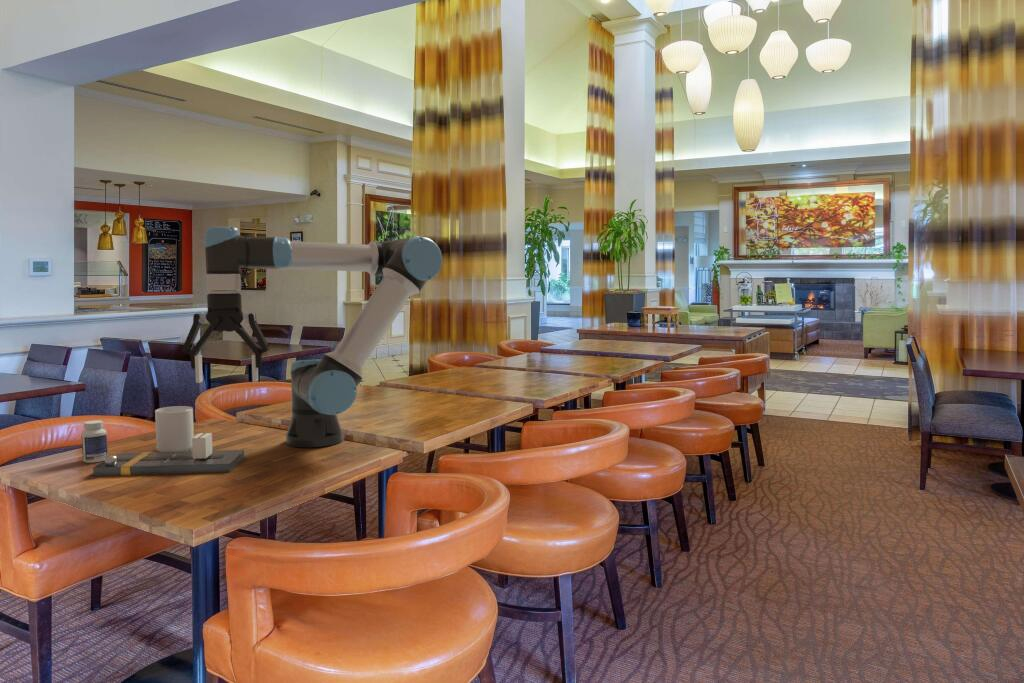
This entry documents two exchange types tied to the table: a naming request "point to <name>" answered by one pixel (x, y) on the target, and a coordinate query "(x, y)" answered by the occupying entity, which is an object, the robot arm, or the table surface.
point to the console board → (168, 463)
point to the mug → (174, 428)
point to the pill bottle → (94, 442)
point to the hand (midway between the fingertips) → (227, 381)
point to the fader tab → (202, 445)
